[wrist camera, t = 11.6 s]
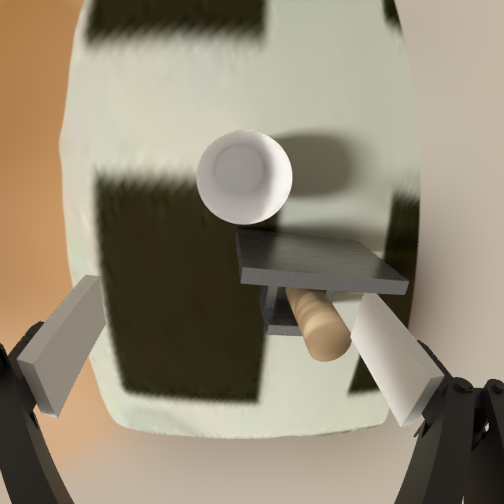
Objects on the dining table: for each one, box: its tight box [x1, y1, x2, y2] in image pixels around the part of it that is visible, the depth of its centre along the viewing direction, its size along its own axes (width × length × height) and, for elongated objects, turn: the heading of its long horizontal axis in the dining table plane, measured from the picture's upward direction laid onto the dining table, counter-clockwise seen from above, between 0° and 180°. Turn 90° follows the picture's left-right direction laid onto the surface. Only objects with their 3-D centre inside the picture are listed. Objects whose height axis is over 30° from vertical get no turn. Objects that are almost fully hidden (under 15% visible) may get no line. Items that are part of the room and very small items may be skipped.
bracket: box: [235, 228, 409, 336], centre depth 37 cm, size 10×18×14 cm, turn 82°
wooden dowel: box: [283, 287, 352, 362], centre depth 34 cm, size 4×4×14 cm
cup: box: [197, 130, 292, 224], centre depth 32 cm, size 9×9×12 cm
